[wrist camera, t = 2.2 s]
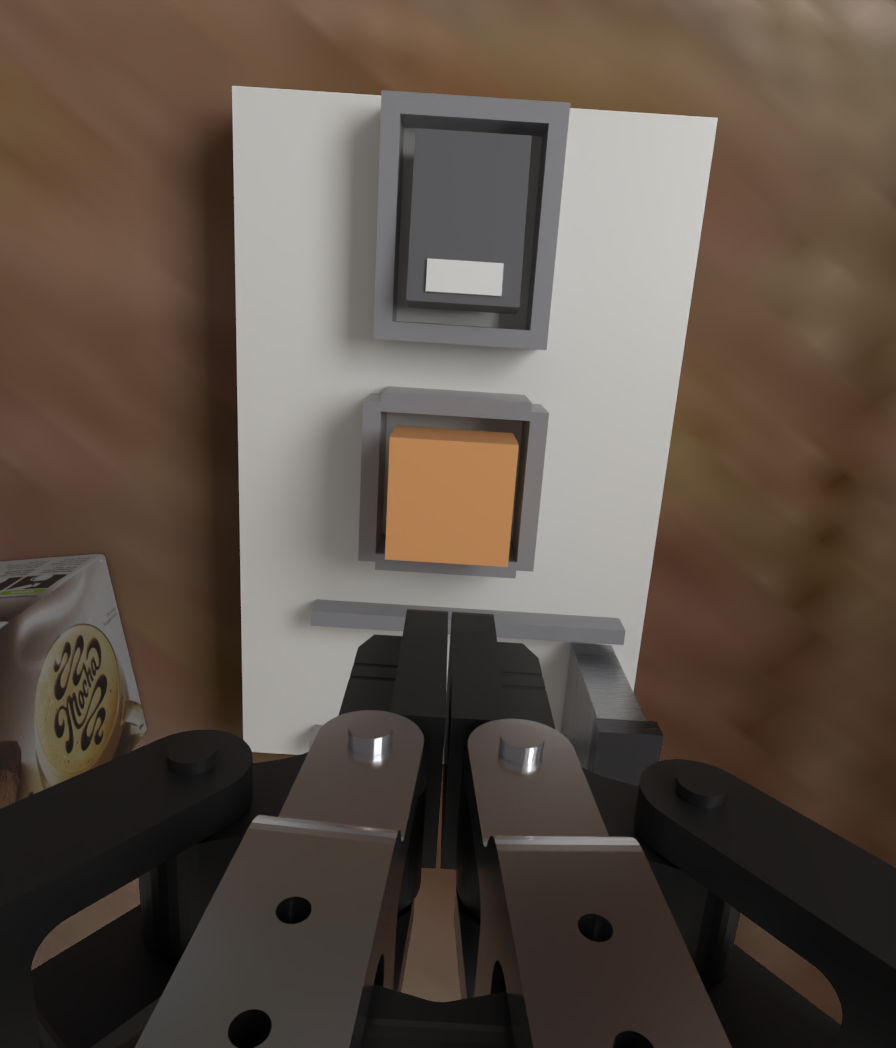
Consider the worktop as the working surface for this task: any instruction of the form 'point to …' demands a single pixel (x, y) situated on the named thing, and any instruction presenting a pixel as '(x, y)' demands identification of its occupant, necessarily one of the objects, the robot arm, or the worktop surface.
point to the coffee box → (61, 674)
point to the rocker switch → (468, 220)
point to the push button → (450, 496)
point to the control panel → (449, 381)
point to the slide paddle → (606, 717)
